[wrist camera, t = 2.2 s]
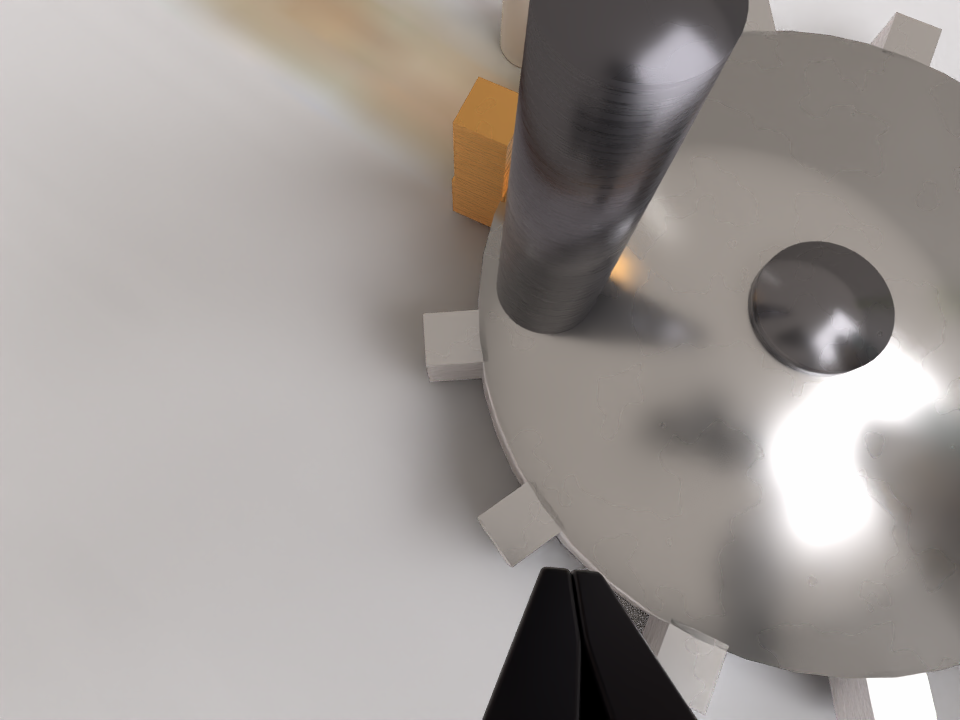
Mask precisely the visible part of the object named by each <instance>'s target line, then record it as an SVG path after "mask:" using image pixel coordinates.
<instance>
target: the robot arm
mask: <svg viewBox="0 0 960 720" xmlns="http://www.w3.org/2000/svg"><path fill="white" fill-rule="evenodd" d="M482 720H697V718H696V717H695V715H694V714H693V712H692V711H691V709H690V708H689V706H688V705H687V703H686V702H685V700H684V699H683V697H682V695H681V694H680V692H679V691H678V689H677V688H676V686H675V685H674V683H673V682H672V680H671V679H670V677H669V676H668V674H667V673H666V671H665V670H664V668H663V667H662V665H661V663H660V662H659V660H658V659H657V657H656V656H655V654H654V653H653V651H652V650H651V648H650V647H649V645H648V644H647V642H646V641H645V639H644V638H643V636H642V634H641V633H640V631H639V630H638V628H637V627H636V625H635V624H634V622H633V621H632V619H631V618H630V616H629V615H628V613H627V612H626V610H625V609H624V607H623V606H622V604H621V602H620V601H619V599H618V598H617V596H616V595H615V593H614V592H613V590H612V589H611V587H610V586H609V584H608V583H607V581H606V580H605V578H604V577H603V575H602V574H601V573H599V572H597V571H588V570H577V569H576V570H573V571H572V572H571V573H570V571H569V570H568V569H565V568H554V567H543V568H542V569H541V570H540V573H539V575H538V578H537V580H536V583H535V585H534V588H533V591H532V593H531V596H530V598H529V601H528V603H527V606H526V608H525V611H524V614H523V616H522V619H521V621H520V624H519V626H518V629H517V632H516V634H515V637H514V639H513V642H512V644H511V647H510V649H509V652H508V655H507V657H506V660H505V662H504V665H503V667H502V670H501V673H500V675H499V678H498V680H497V683H496V685H495V688H494V690H493V693H492V696H491V698H490V701H489V703H488V706H487V708H486V711H485V714H484V716H483V719H482Z"/></svg>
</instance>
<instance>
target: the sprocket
mask: <svg viewBox="0 0 960 720" xmlns="http://www.w3.org/2000/svg"><path fill="white" fill-rule="evenodd" d="M941 31H942V29H939V28H937V27H934V26H932V25H929V24H926V23H924V22H921V21H918V20H916V19H913V18H911V17H908V16H905V15H903V14H900V13H898V12H896V13H895V15H894V16H893V17H892V18H891V20H890V21H889V22H888V23H887V24H886V26H885V27H884V28H883V29H882V31H881V32H880V33H879V34H878V35H877V37H876V38H875V39H874V40H873V42H872V43H871V44H867V43H862V42H858V41H853V40H849V39H844V38H840V37H835V36H831V35H823V34H814V33H805V32H796V31H776V30H775V26H774V21H773V17H772V13H771V9H770V4H769V0H530V1H529V9H528V18H527V26H526V35H525V44H524V52H523V61H522V69H521V78H520V86H519V93H517V92H514V91H512V90H509V89H507V88H505V87H502V86H500V85H497V84H495V83H493V82H490V81H488V80H486V79H483V78H481V77H478V79H477V80H476V82H475V84H474V86H473V88H472V89H471V91H470V93H469V95H468V97H467V98H466V100H465V102H464V104H463V105H462V107H461V109H460V111H459V113H458V114H457V116H456V118H455V120H454V121H453V141H454V172H455V175H454V177H453V179H452V195H453V211H455V212H457V213H459V214H462V215H464V216H466V217H469V218H471V219H473V220H475V221H478V222H480V223H482V224H484V225H487V226H489V227H491V228H490V232H489V235H488V239H487V243H486V247H485V250H484V255H483V263H482V271H481V279H480V287H479V298H478V310H465V311H451V312H436V313H423V325H424V341H425V357H426V368H427V372H428V377H429V381H430V382H438V381H451V380H465V379H479V378H482V383H483V389H484V395H485V398H486V402H487V405H488V408H489V412H490V415H491V419H492V422H493V426H494V429H495V433H496V435H497V437H498V440H499V442H500V444H501V446H502V449H503V451H504V453H505V456H506V458H507V460H508V462H509V465H510V467H511V469H512V471H513V473H514V475H515V477H516V478H517V480H518V482H519V483H520V485H521V487H519V488H518V489H516V490H515V491H513V492H512V493H511V494H509V495H508V496H506V497H505V498H504V499H502V500H501V501H499V502H498V503H496V504H495V505H494V506H492V507H491V508H489V509H488V510H487V511H485V512H484V513H482V514H481V515H480V516H478V518H477V520H478V521H479V523H480V524H481V526H482V527H483V529H484V530H485V532H486V533H487V535H488V536H489V538H490V539H491V541H492V542H493V543H494V545H495V546H496V548H497V549H498V551H499V552H500V554H501V555H502V557H503V558H504V560H505V561H506V563H507V564H508V565H509V566H511V567H513V566H515V565H516V564H518V563H519V562H520V561H522V560H523V559H524V558H526V557H527V556H529V555H530V554H531V553H533V552H534V551H535V550H537V549H538V548H540V547H541V546H542V545H544V544H545V543H546V542H548V541H549V540H550V539H552V538H553V537H555V536H556V537H557V538H558V539H559V540H560V542H561V543H562V544H563V545H564V546H565V547H566V548H567V549H568V550H569V551H570V552H571V553H572V554H573V555H574V556H575V557H576V558H577V559H578V560H579V561H580V562H581V563H582V564H583V565H584V566H585V567H586V568H587V569H588V570H589V571H597V572H599V573H601V574H602V575H603V577H604V578H605V580H606V581H607V583H608V584H609V586H610V587H611V589H612V590H613V591H615V592H616V593H617V594H619V595H620V596H621V597H623V598H624V599H625V600H627V601H628V602H629V603H631V604H632V605H633V606H635V607H637V608H638V609H640V610H642V611H643V612H645V613H647V614H649V617H648V620H647V622H646V625H645V628H644V630H643V633H642V636H643V638H644V639H645V641H646V642H647V644H648V645H649V647H650V648H651V650H652V651H653V653H654V654H655V656H656V657H657V659H658V660H659V662H660V663H661V665H662V667H663V668H664V670H665V671H666V673H667V674H668V676H669V677H670V679H671V680H672V682H673V683H674V685H675V686H676V688H677V689H678V691H679V692H680V694H681V695H682V697H683V699H684V700H685V702H686V703H687V705H688V706H689V707H690V708H692V709H694V710H696V711H698V712H700V713H702V714H704V715H705V714H706V711H707V708H708V705H709V702H710V699H711V697H712V694H713V691H714V688H715V685H716V682H717V679H718V676H719V673H720V671H721V668H722V665H723V662H724V659H725V656H726V653H727V652H730V653H732V654H735V655H737V656H740V657H742V658H744V659H747V660H751V661H755V662H759V663H762V664H766V665H770V666H774V667H778V668H781V669H785V670H789V671H793V672H797V673H805V674H813V675H821V676H828V679H829V684H830V689H831V694H832V699H833V704H834V709H835V714H836V719H837V720H937V716H936V712H935V707H934V703H933V699H932V695H931V690H930V686H929V682H928V677H927V673H926V672H932V671H938V670H944V669H947V668H950V667H953V666H956V665H959V664H960V82H958V81H956V80H955V79H953V78H951V77H949V76H948V75H946V74H944V73H942V72H940V71H938V70H935V69H933V68H931V67H929V66H930V63H931V60H932V57H933V54H934V51H935V48H936V46H937V43H938V40H939V37H940V34H941Z"/></svg>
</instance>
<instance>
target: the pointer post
mask: <svg viewBox="0 0 960 720" xmlns="http://www.w3.org/2000/svg"><path fill="white" fill-rule="evenodd" d="M529 1H530V0H503V4H502V19H501V34H500V47H501V50H502V52H503V54H504V56H505V57H506V58H507V59H508V61H510V62H511V63H512V64H514V65H516V66H518V67H520V68H522V61H523V52H524V44H525V35H526V26H527V18H528V9H529Z"/></svg>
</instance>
